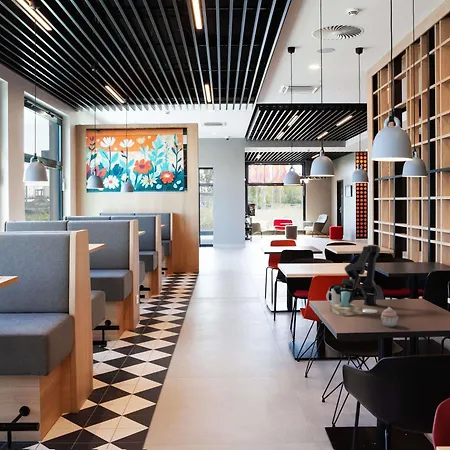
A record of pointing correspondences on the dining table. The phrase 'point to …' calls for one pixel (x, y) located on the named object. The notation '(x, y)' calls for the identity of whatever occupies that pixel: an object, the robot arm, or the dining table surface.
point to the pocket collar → (346, 310)
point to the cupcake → (389, 317)
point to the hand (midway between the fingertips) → (344, 302)
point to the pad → (369, 311)
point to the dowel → (345, 299)
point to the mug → (333, 297)
